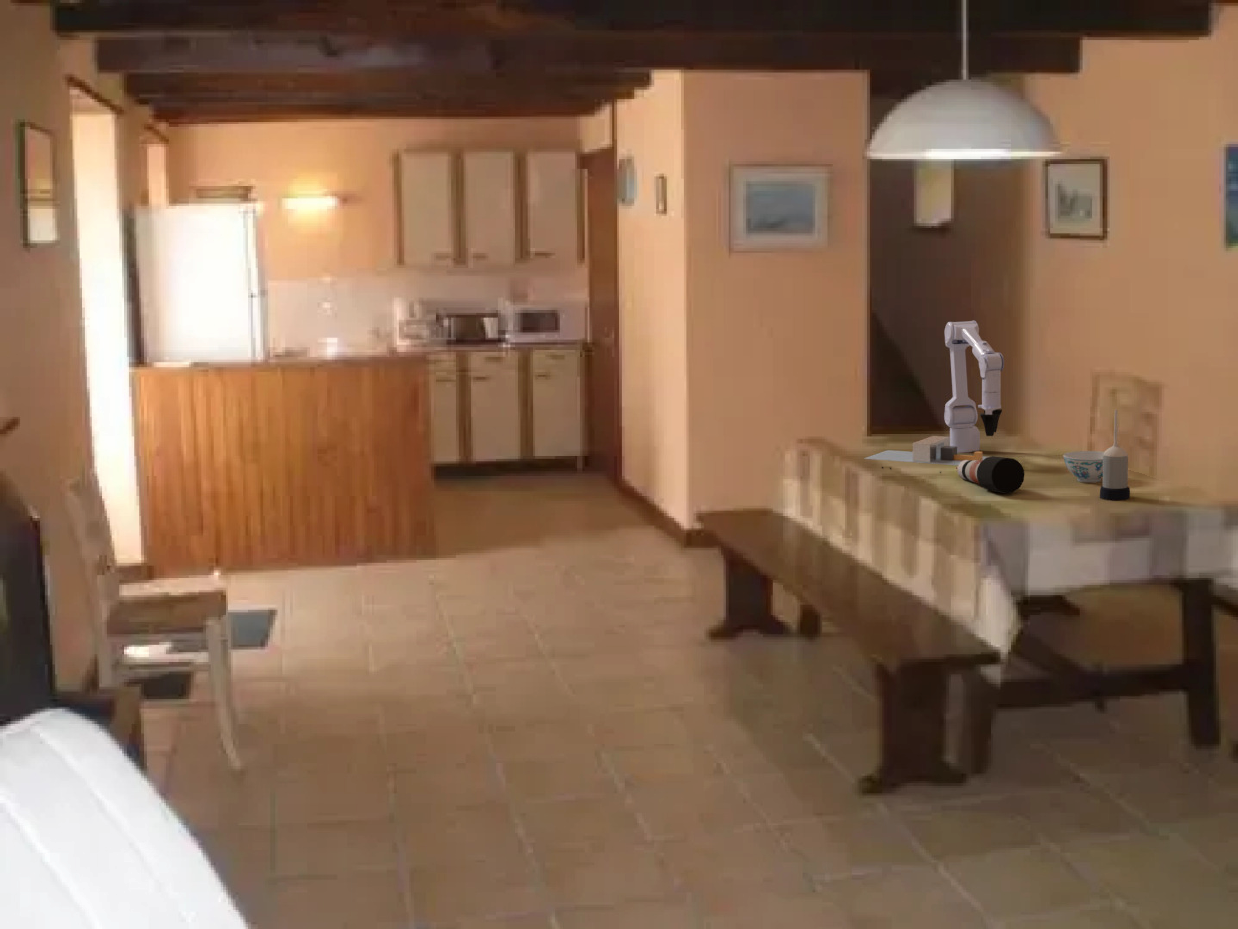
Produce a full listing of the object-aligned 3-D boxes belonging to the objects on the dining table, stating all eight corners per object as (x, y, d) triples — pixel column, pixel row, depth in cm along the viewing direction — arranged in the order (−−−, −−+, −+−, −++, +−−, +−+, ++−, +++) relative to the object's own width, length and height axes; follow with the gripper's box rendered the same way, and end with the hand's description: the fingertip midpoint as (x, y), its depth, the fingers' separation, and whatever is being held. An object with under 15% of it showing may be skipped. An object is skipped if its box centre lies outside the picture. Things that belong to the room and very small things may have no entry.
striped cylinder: (966, 490, 480) (979, 460, 480) (1016, 498, 446) (1029, 466, 447) (938, 477, 478) (951, 447, 478) (986, 484, 444) (1000, 452, 445)
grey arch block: (950, 454, 513) (950, 436, 511) (930, 462, 500) (929, 444, 499) (933, 453, 516) (933, 435, 515) (912, 461, 503) (912, 443, 502)
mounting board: (997, 459, 504) (997, 457, 504) (975, 469, 490) (975, 466, 490) (887, 452, 527) (887, 450, 526) (863, 460, 512) (863, 458, 512)
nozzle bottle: (1121, 494, 442) (1122, 407, 438) (1135, 499, 434) (1137, 410, 430) (1094, 496, 441) (1095, 408, 437) (1108, 501, 433) (1109, 412, 429)
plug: (983, 460, 500) (983, 448, 499) (978, 462, 496) (978, 450, 496) (945, 457, 507) (945, 445, 506) (940, 459, 504) (940, 447, 503)
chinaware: (1052, 479, 468) (1052, 454, 467) (1092, 474, 474) (1092, 449, 473) (1085, 487, 455) (1086, 461, 453) (1126, 481, 460) (1126, 455, 459)
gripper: (981, 388, 500) (981, 430, 502) (975, 394, 487) (975, 437, 489) (1003, 388, 498) (1003, 430, 500) (998, 394, 484) (998, 437, 486)
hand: (991, 434), depth 494 cm, fingers open, 7 cm apart
